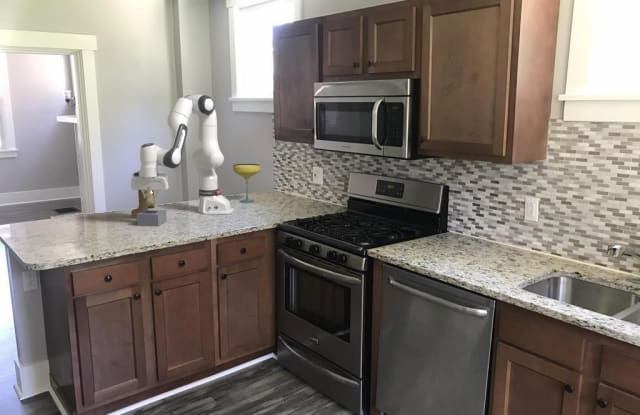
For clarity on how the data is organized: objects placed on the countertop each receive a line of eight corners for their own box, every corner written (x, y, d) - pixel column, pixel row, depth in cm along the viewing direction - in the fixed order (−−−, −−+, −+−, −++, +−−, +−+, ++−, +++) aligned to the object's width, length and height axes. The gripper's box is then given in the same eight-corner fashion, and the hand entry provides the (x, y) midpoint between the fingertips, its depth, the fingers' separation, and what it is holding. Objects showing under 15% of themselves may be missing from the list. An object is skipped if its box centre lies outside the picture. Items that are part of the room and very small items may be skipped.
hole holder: (166, 221, 297) (166, 210, 296) (158, 226, 286) (157, 214, 284) (146, 220, 298) (145, 209, 297) (137, 225, 287) (136, 214, 285)
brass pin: (155, 207, 292) (154, 186, 290) (153, 208, 288) (152, 187, 286) (149, 207, 292) (147, 185, 290) (146, 208, 288) (145, 187, 286)
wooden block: (131, 218, 304) (129, 187, 300) (133, 216, 308) (131, 186, 305) (147, 218, 305) (145, 187, 302) (148, 216, 310) (147, 186, 306)
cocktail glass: (235, 199, 366) (234, 163, 361) (261, 199, 368) (260, 163, 363) (232, 204, 349) (231, 166, 344) (259, 204, 350) (259, 167, 345)
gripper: (169, 173, 289) (170, 197, 291) (134, 172, 290) (135, 196, 293) (165, 174, 282) (166, 199, 285) (129, 173, 284) (130, 198, 287)
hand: (150, 198), depth 289 cm, fingers closed on brass pin, 4 cm apart
